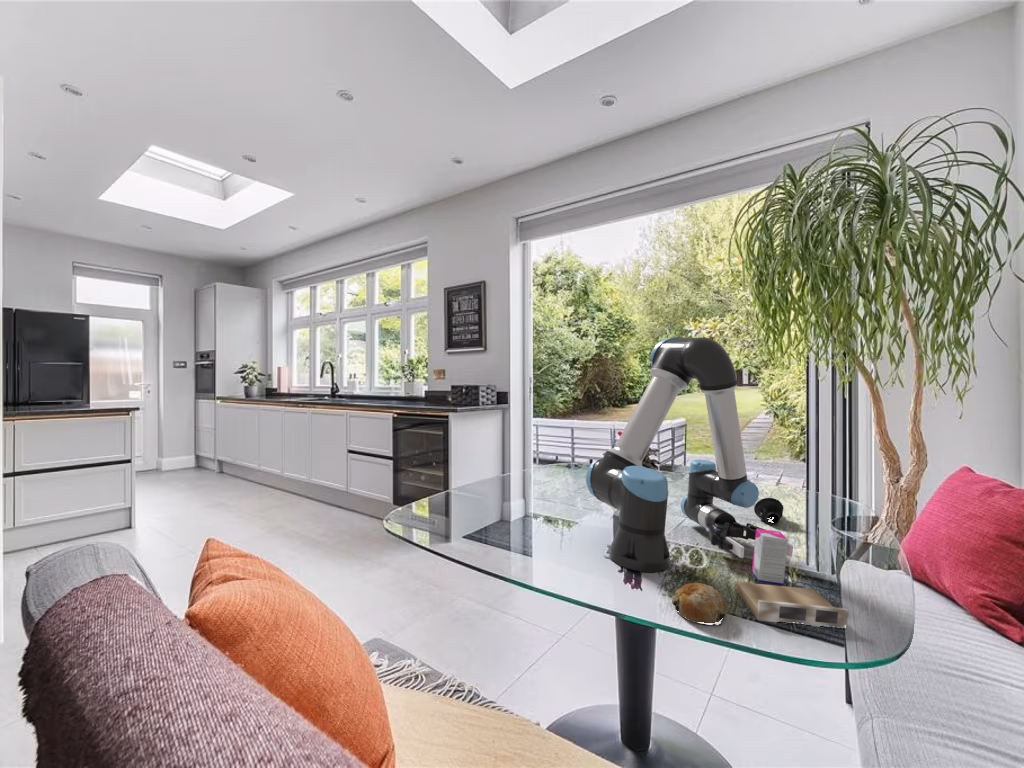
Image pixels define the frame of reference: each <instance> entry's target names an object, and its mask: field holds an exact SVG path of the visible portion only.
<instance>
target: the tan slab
mask: <svg viewBox="0 0 1024 768" xmlns="http://www.w3.org/2000/svg"><path fill="white" fill-rule="evenodd" d="M735 590H736V592H737V593H738V595H739V596H740V597H741V599H742V600H743V602H744V603H745V604H746V606H747V607H748V609H749V610H750V611H751V613H752V614H753V615H754V617H755V618H756V620H757V621H761V622H769V623H777V622H779V621H783V622H802V623H804V624H807V625H811V626H810V627H817V628H821V627H820V626H822V625H825V624H828V625H831V626H835V627H843V626H844V625H846V624H847V625H848V618H849V610H848V608H845V607H834V605H832V604H831V603H830V602H829V601H828V600H827V599H826V598H824V597H823V595H821V593H820V592H818V591H817V590H816V589H814V588H808V587H807V588H804V587H796V586H784V585H775V584H766V583H754V582H744V581H736V589H735Z"/></svg>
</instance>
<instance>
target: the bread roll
mask: <svg viewBox="0 0 1024 768" xmlns="http://www.w3.org/2000/svg"><path fill="white" fill-rule="evenodd" d="M671 603H672V605H673V606H674V609H675V611H676V610H677V611H679V613H680V614H681V615H682V616H684V617H686V618H687V619H689V620H691V621H695V622H704V623H715V622H719V621H720V620H721V619H722V618H724V619H725V617H726V615H727V605H726V601H725V599H724V597H723V596H722V594H720V593H719V591H717V590H716V589H715V588H714V587H713V585H707V584H705V583H700V582H690V583H686V584H684V585H682V586H681V587H680V588H678V589H677V590H675V592H674V594H673V596H672V598H671ZM677 611H676V612H677ZM679 613H678V614H679ZM680 614H679V615H680ZM681 615H680V616H681ZM682 616H681V617H682ZM684 617H683V618H684ZM686 618H685V619H686ZM687 619H686V620H687ZM695 622H694V623H695Z"/></svg>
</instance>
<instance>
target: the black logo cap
mask: <svg viewBox="0 0 1024 768" xmlns="http://www.w3.org/2000/svg"><path fill="white" fill-rule="evenodd" d="M753 511H754V514H755V515H756V517H757V518H760V520H762V521H763V522H764V521H765V522H764V523H767V522H768V521H767V518H770V517H771V518H770V519H772V517H774V519H773V520H772V521H773V522H774V523H770V522H768V524H770V525H776V524H778V523H779V522H780V520H781V519H782V517H783V512H784V505H783V503H782V502H781V500H779V499H777V498H774V497H764V498H761V499H760V500H757V502H756V503H755V504H754V507H753Z"/></svg>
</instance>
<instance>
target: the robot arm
mask: <svg viewBox="0 0 1024 768" xmlns="http://www.w3.org/2000/svg"><path fill="white" fill-rule="evenodd" d="M649 359H650V366H651V368H650V370H649V373H650V376H651V379H650V382H649V383H648V384H647V387H646V388H645V390H644V391H643V395H642V396H641V398H640V399H639V402H638V403H637V405H636V407H635V408H634V411H633V412H632V414H631V416H630V418H629V420H628V422H627V424H626V425H625V428H624V429H623V431H622V432H621V434H620V437H619V438H618V440H617V442H616V444H615V446H614V447H612V448H610V449H609V448H608V449H607V450H606V451H605V453H604V455H603V457H602V458H597V459H596V460H594V461H592V463H590V465H589V467H587V471H586V473H585V474H586V475H585V483H586V487H587V489H588V491H589V493H590V494H591V495H592V496H593V497H594V498H596V499H597V500H598V501H600V502H601V503H604V504H606V505H608V506H609V507H612V508H614V509H616V510H617V511H619V514H618V517H619V518H618V528H617V530H616V532H615V535H614V537H613V540H612V542H611V545H610V547H609V548H610V549H609V557H610V559H611V560H612V562H614V563H615V564H616V565H618V566H621V567H622V568H626V569H628V570H632V571H636V572H642V573H657V572H663V571H665V570H667V569H668V568H669V567H670V565H671V564H670V563H671V562H670V561H671V554H670V551H669V550H670V549H669V546H668V542H667V538H666V533H665V532H666V520H667V511H668V497H669V481H668V479H667V477H666V476H665V475H664V474H663V473H661V471H658V470H656V469H654V468H651V467H649V468H648V467H646V466H643V460H644V459H645V456H646V455H647V453H648V451H649V450H650V448H651V445H652V443H653V441H654V440H655V437H656V436H657V434H658V432H659V430H660V428H661V427H662V424H663V423H664V421H665V419H666V417H667V414H668V413H669V412H670V410H671V407H672V406H673V404H674V402H675V400H676V398H677V397H678V394H679V393H680V392H681V391H685V390H687V389H688V387H689V385H690V383H691V381H692V380H693V379H696V380H697V382H698V384H699V385H698V386H699V390H700V391H701V392H703V393H704V397H705V403H706V411H707V415H708V420H709V421H708V422H709V426H710V427H709V428H710V433H711V439H712V444H713V445H712V446H713V451H714V457H715V462H713V461H711V460H706V459H693V460H691V461H690V464H689V471H688V485H687V494H686V495H685V496H683V499H681V500H680V501H681V502H680V509H681V512H682V513H683V514H684V515H685V516H686V517H687V518H688V520H691V521H692V522H695V523H696V524H697V525H699V526H701V527H702V528H704V530H705V534H706V535H708V537H709V541H710V544H711V545H712V546H717V545H718V549H720V550H724V549H726V550H729V551H730V552H731V553H732V554H734V555H736V556H737V557H739V558H740V559H744V554H745V546H744V545H741V544H740V543H738V542H737V541H735V540H734V539H732V538H737V539H738V538H739V539H741V540H742V539H743V540H745V541H747V540H749V539H750V540H753V541H755V536H756V529H764V530H767V529H765V528H762V527H759V526H755V525H753V524H751V523H748V522H746V525H745V524H741V523H740V522H737V520H736V517H734V515H732V514H731V513H729V512H727V511H726V510H724V509H723V508H721V507H719V506H717V505H715V504H713V503H714V498H716V499H719V500H721V501H724V502H727V503H729V504H732V505H733V506H737V507H739V508H740V507H741V508H744V509H749V508H751V507H753V506H755V505H756V503H757V502H758V501H759V500H758V499H759V495H760V491H759V488H758V485H756V484H755V483H754V482H752V481H750V480H748V475H747V468H746V460H745V455H744V454H745V453H744V449H743V448H744V447H743V440H742V433H741V426H740V419H739V414H738V407H737V400H736V393H735V389H736V387H737V386H738V378H737V374H736V369H735V366H734V364H733V361H732V359H731V357H730V355H729V354H728V352H727V351H726V349H725V348H724V347H723V346H722V345H721V344H720V343H718V341H715V339H712V338H709V337H677V336H675V337H670V338H665V339H663V340H660V341H659V342H657V344H655V346H654V347H653V349H652V351H651V352H650V358H649ZM744 534H745V535H744ZM793 551H794V546H793V545H792V544H790V543H788V544H787V554H786V556H788V557H789V558H790V557H793Z"/></svg>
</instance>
